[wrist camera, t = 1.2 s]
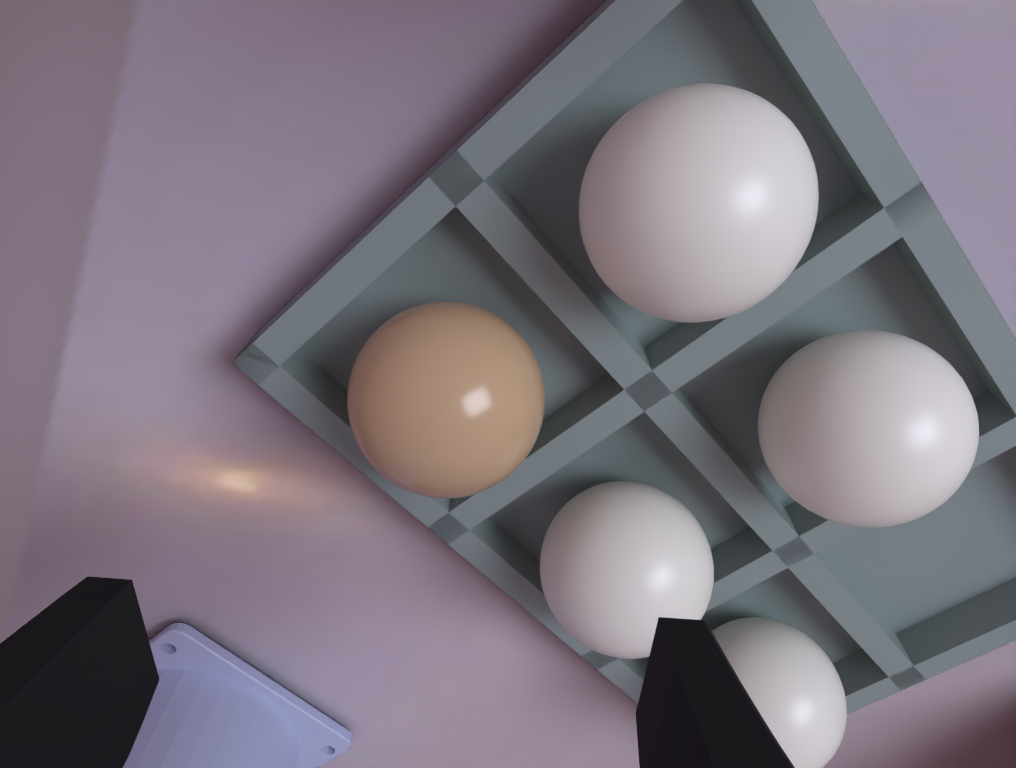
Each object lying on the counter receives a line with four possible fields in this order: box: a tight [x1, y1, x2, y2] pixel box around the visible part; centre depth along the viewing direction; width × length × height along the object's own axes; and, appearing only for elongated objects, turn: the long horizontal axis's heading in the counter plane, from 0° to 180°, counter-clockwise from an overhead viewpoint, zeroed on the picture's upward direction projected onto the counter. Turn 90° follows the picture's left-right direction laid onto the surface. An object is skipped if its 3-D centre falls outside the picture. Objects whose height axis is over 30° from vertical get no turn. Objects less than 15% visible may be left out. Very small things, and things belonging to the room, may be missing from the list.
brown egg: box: [347, 301, 545, 499], centre depth 16 cm, size 4×4×4 cm
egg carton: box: [232, 0, 1016, 768], centre depth 17 cm, size 14×21×5 cm
